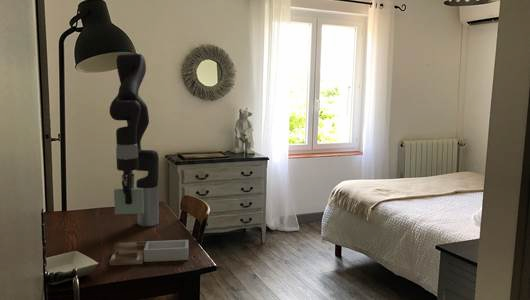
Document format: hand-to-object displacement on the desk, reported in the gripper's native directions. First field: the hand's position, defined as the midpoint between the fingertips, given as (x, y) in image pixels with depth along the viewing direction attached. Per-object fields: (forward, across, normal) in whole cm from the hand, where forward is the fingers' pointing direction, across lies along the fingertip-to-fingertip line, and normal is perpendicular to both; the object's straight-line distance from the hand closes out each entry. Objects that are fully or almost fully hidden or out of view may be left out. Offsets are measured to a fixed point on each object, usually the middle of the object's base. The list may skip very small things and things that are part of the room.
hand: (129, 203), depth 171 cm
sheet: (+4, 0, 0) cm, 4 cm away
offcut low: (+17, +10, 0) cm, 20 cm away
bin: (+19, +5, +13) cm, 24 cm away
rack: (+19, +5, 0) cm, 19 cm away
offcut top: (+15, +10, 0) cm, 18 cm away
